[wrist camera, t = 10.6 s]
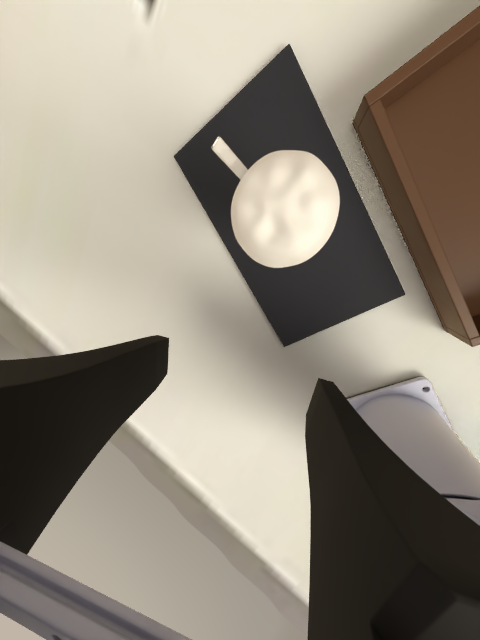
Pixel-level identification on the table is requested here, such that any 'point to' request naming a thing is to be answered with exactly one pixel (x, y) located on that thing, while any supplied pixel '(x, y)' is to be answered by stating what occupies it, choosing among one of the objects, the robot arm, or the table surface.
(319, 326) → the mouse pad
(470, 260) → the tray
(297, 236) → the milkshake
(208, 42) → the table surface
